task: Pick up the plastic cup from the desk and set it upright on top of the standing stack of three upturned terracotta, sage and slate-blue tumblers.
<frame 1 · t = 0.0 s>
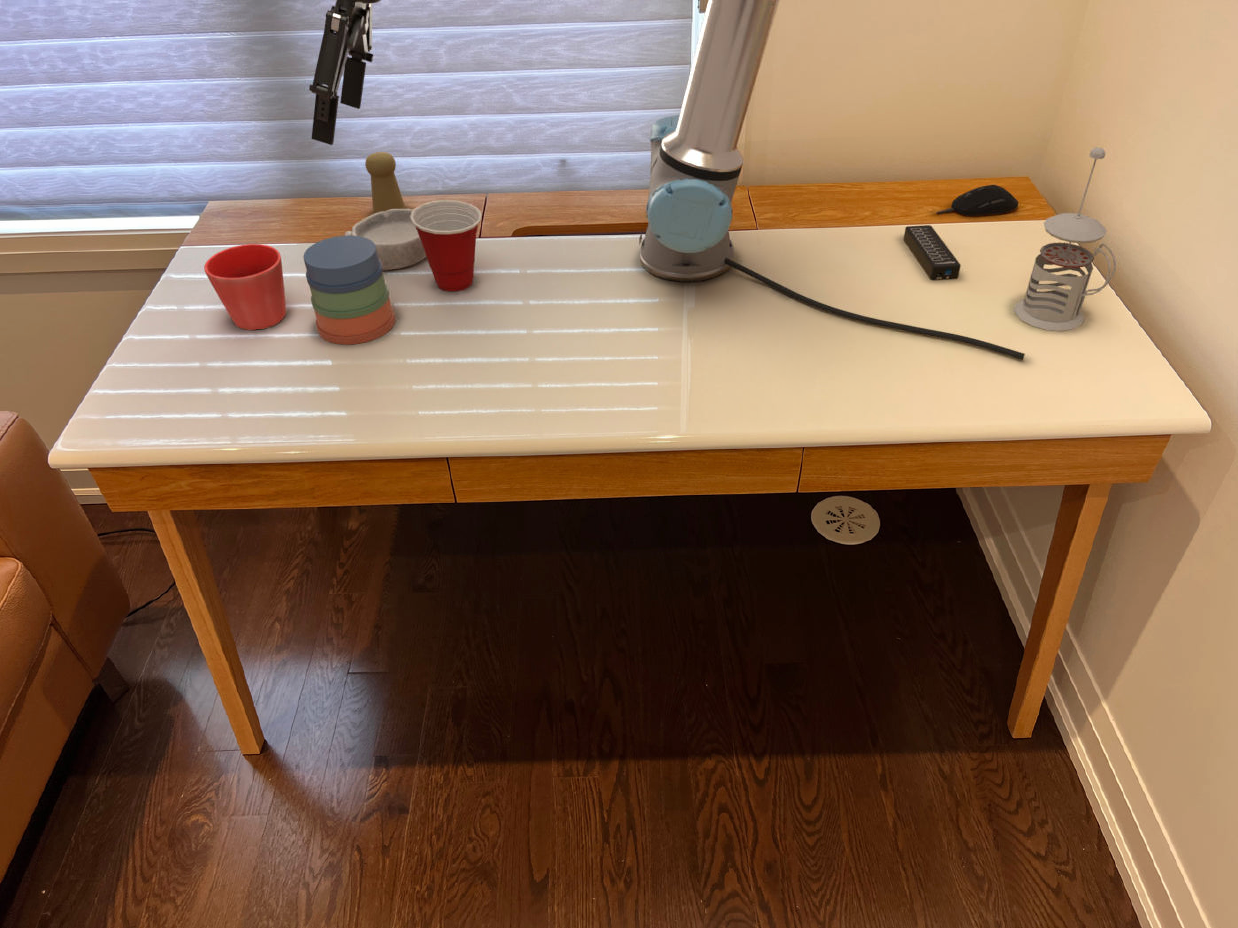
hand: (336, 122, 131), 28 cm above the table, tool tilted 20°, fingers open, 13 cm apart
flower pot: (260, 318, 145), on the table
cup stack: (356, 323, 143), on the table
wooden peg doll: (390, 214, 173), on the table
plastic cup: (456, 284, 152), on the table
multiport hub: (929, 259, 155), on the table
dish: (394, 254, 161), on the table
french press: (1054, 316, 140), on the table
gaming mouse: (975, 210, 168), on the table
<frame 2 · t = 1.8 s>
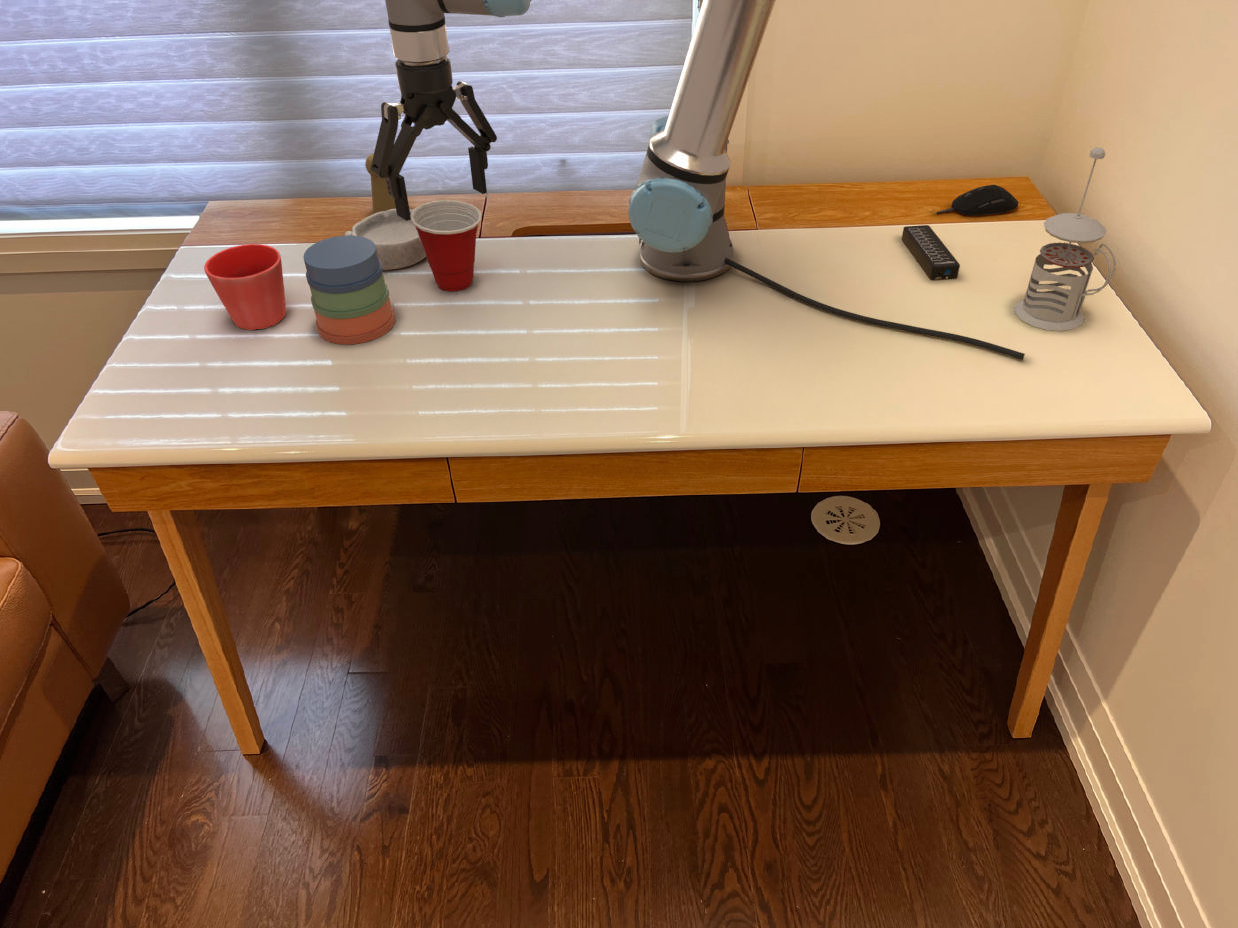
hand: (443, 204, 143), 13 cm above the table, tool pointing down, fingers open, 13 cm apart
nothing on the table moved.
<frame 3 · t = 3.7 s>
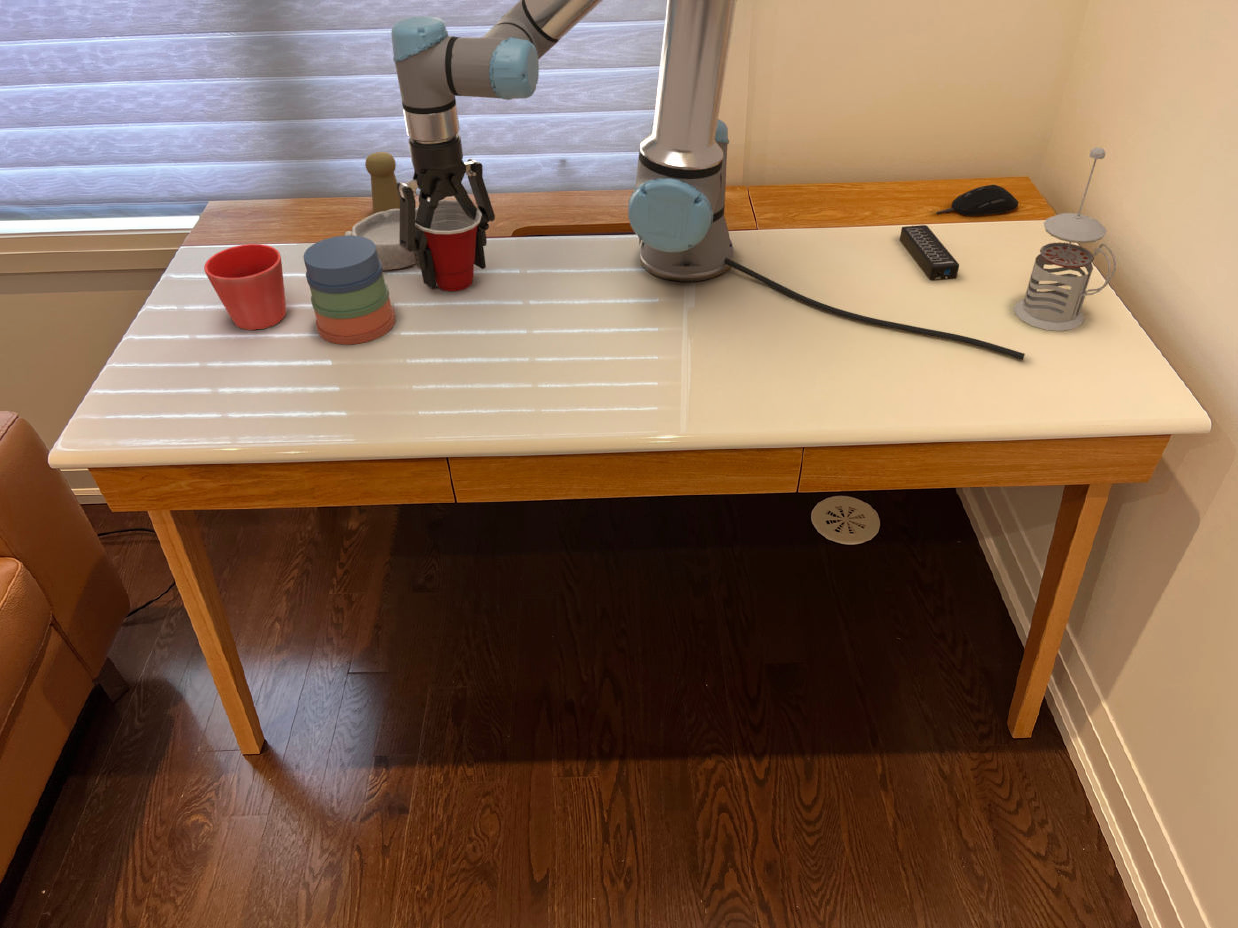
hand: (455, 275, 151), 1 cm above the table, tool pointing down, fingers closed on plastic cup, 9 cm apart
plastic cup: (456, 284, 152), on the table, touching gripper
everything else where it was.
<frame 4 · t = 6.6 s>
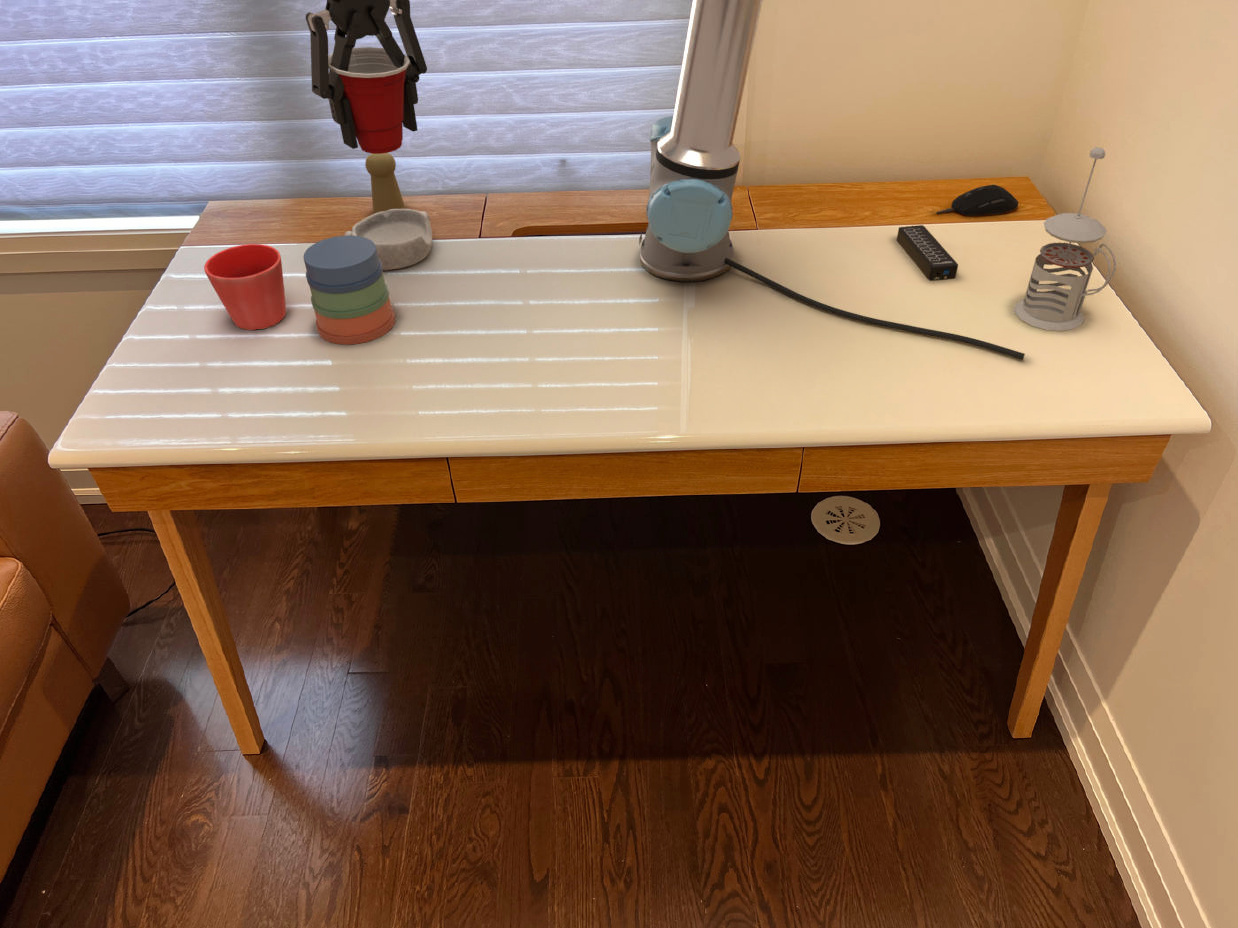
hand: (381, 136, 132), 26 cm above the table, tool pointing down, fingers closed on plastic cup, 9 cm apart
plastic cup: (383, 148, 133), point 24 cm above the table, touching gripper
everything else where it was.
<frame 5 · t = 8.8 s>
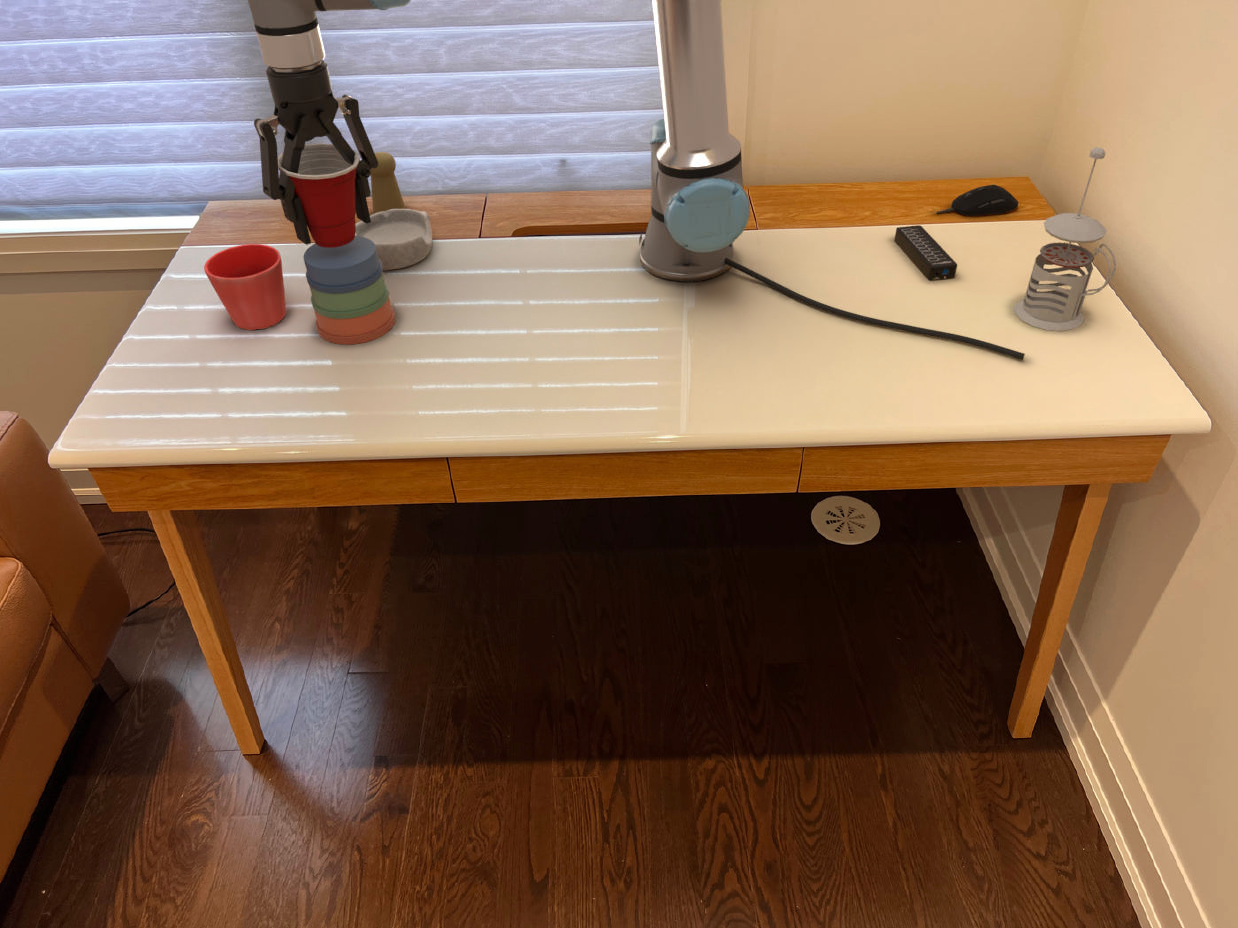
hand: (334, 230, 133), 15 cm above the table, tool pointing down, fingers closed on plastic cup, 9 cm apart
plastic cup: (336, 240, 134), point 14 cm above the table, touching gripper
when the fingers open (13 cm above the table, at t = 9.9 s): plastic cup stays where it is, resting on cup stack.
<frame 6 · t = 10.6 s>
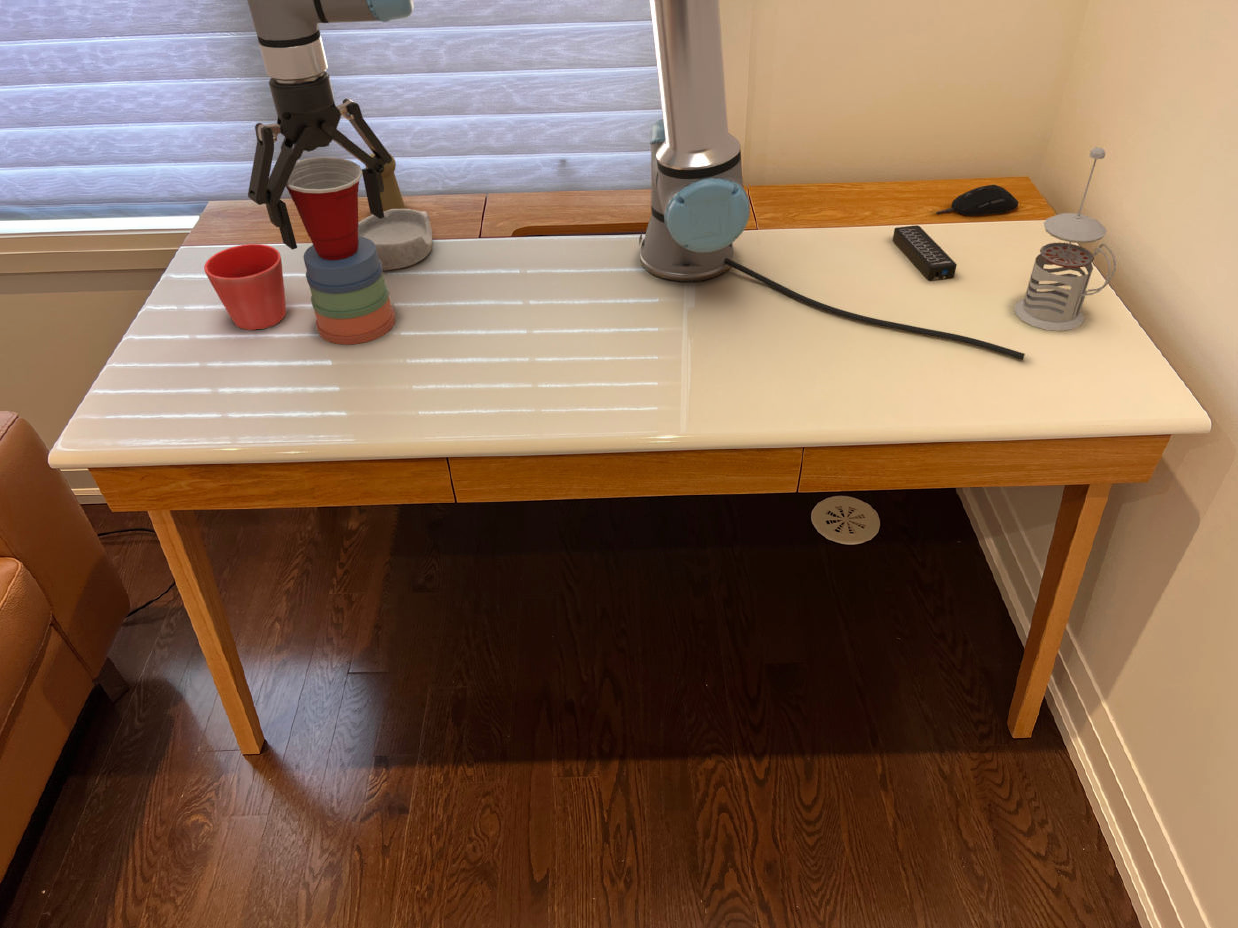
hand: (335, 230, 133), 15 cm above the table, tool pointing down, fingers open, 13 cm apart
plastic cup: (339, 252, 136), point 12 cm above the table, touching cup stack
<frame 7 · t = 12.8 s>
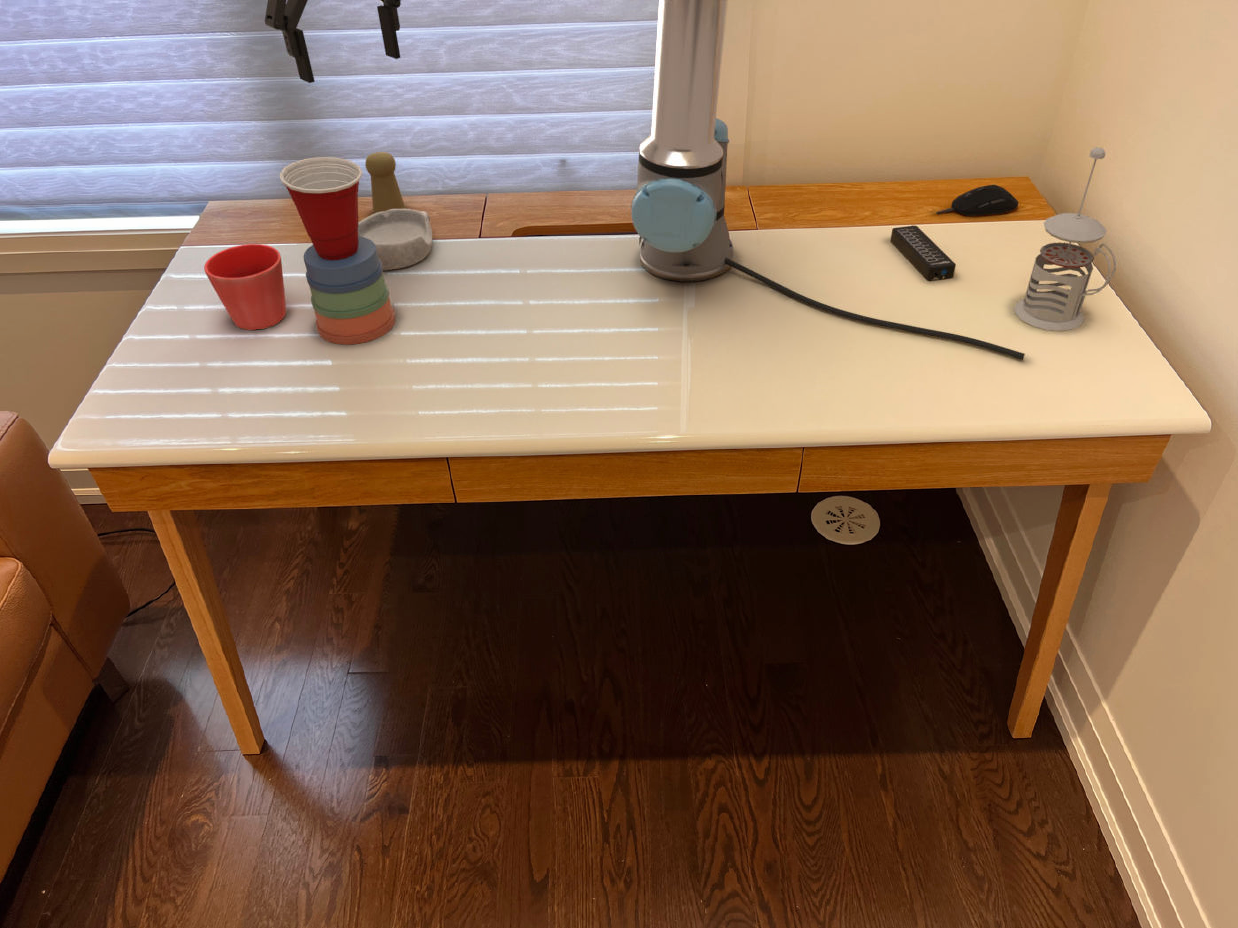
hand: (351, 68, 132), 33 cm above the table, tool pointing down, fingers open, 13 cm apart
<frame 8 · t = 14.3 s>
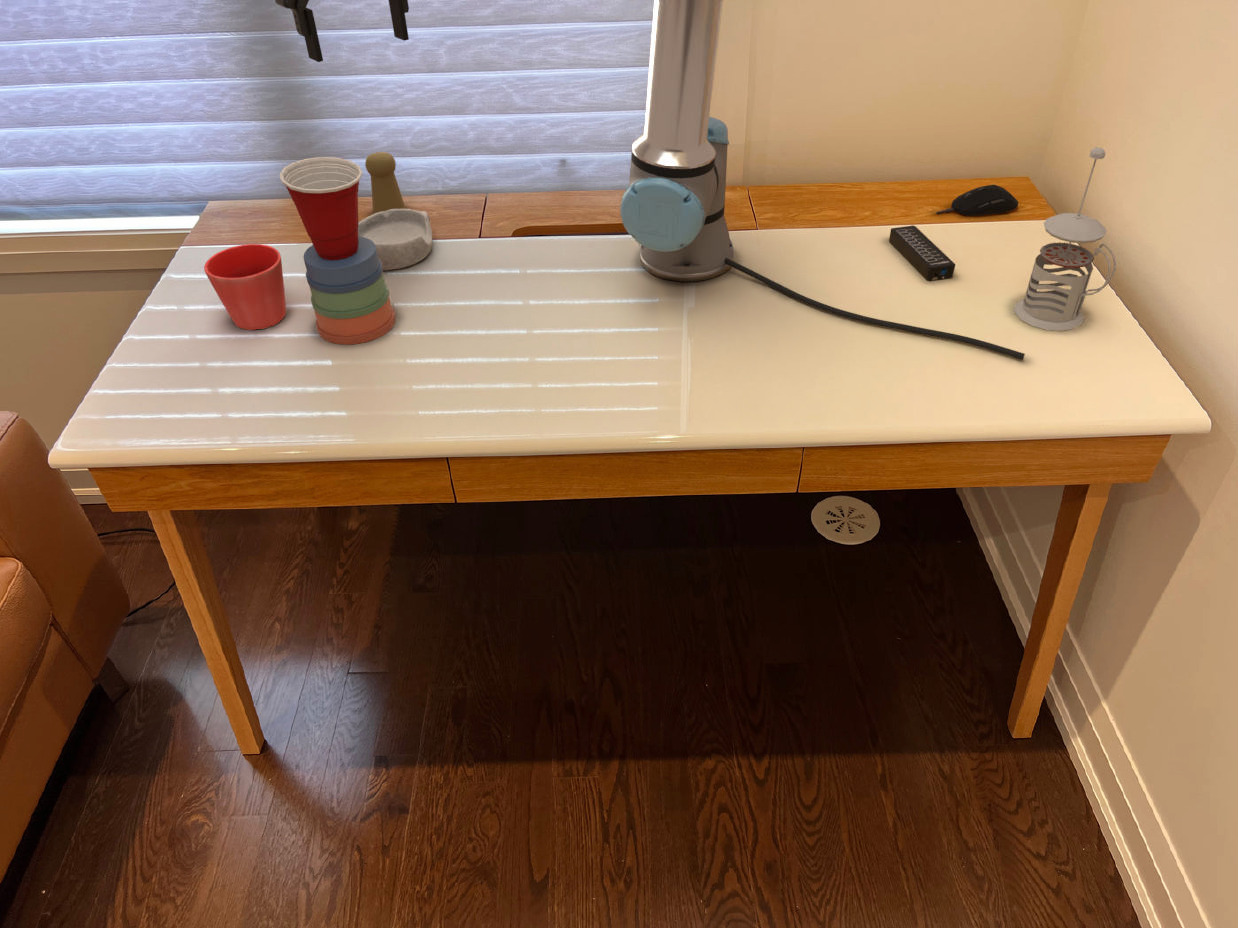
hand: (360, 49, 134), 35 cm above the table, tool pointing down, fingers open, 13 cm apart
at the end: plastic cup 0.1 cm off-centre on the cup stack, point 11.8 cm above the cup stack's base; plastic cup tilted 0°; the gripper is holding nothing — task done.
